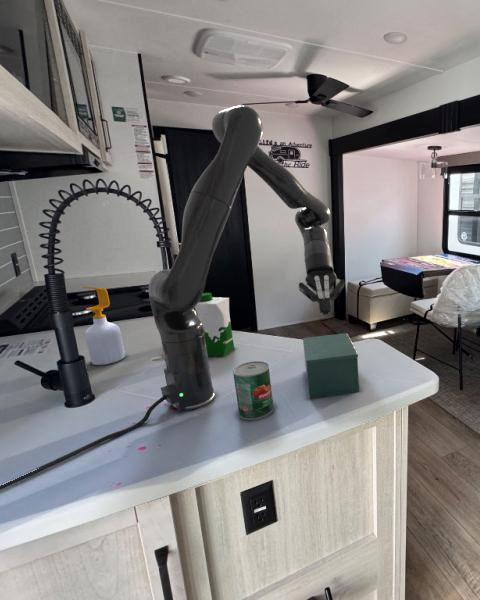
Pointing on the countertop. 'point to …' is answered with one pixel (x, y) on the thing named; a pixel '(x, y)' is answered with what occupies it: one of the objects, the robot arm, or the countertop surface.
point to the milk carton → (215, 324)
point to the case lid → (328, 348)
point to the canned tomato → (253, 390)
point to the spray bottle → (103, 334)
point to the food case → (332, 377)
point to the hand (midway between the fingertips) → (325, 313)
